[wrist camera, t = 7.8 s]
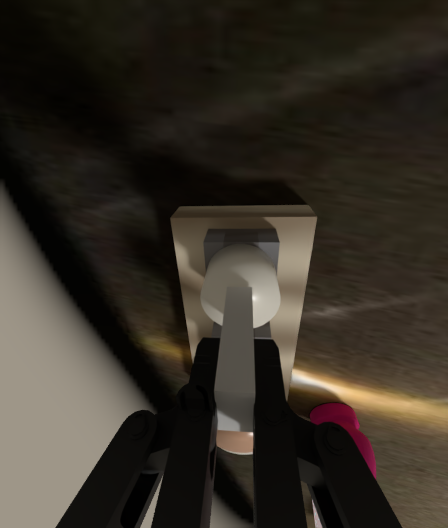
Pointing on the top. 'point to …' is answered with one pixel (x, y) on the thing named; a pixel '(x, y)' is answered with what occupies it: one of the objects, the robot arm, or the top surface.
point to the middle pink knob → (235, 441)
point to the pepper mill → (345, 427)
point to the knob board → (256, 234)
